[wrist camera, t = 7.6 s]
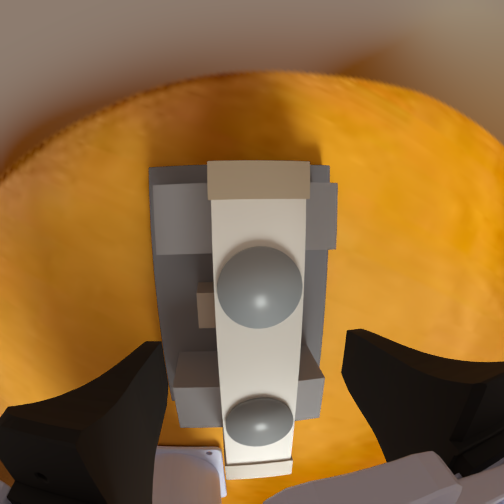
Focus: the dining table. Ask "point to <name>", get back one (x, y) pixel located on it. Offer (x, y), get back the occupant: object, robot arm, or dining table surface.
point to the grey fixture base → (202, 290)
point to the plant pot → (5, 475)
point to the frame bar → (258, 307)
